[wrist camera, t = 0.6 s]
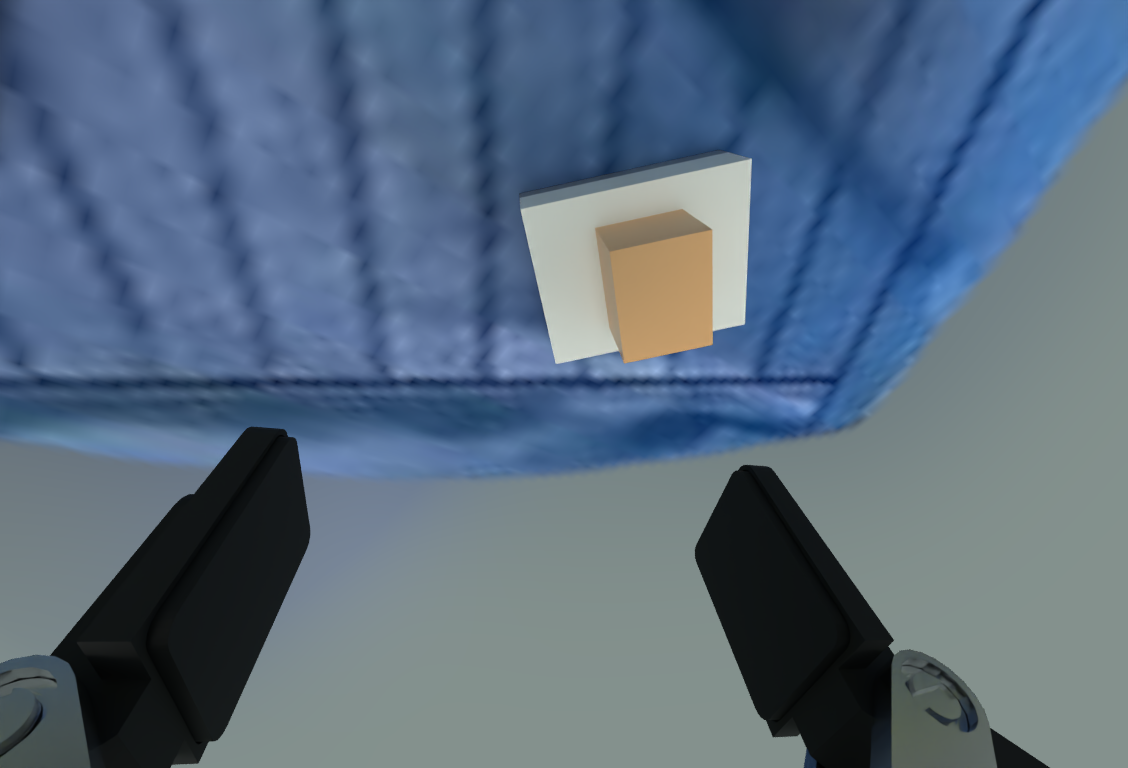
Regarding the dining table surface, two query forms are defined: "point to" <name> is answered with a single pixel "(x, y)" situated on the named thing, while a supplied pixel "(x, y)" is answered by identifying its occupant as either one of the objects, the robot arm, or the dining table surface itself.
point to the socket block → (575, 209)
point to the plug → (657, 284)
